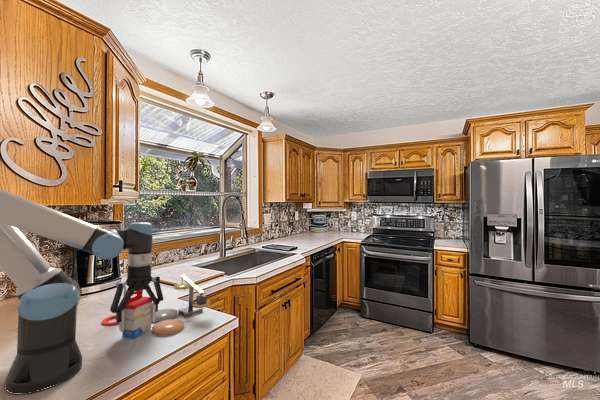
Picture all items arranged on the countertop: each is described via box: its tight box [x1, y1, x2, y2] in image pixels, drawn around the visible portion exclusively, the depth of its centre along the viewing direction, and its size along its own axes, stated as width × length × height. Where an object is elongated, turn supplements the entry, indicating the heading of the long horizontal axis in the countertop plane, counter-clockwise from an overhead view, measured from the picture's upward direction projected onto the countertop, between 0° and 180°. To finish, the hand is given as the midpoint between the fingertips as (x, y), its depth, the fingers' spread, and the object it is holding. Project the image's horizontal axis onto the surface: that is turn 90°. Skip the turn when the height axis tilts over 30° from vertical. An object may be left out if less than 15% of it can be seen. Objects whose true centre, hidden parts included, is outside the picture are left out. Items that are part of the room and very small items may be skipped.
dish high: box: [151, 308, 178, 324], centre depth 110 cm, size 11×11×1 cm
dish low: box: [151, 318, 185, 337], centre depth 100 cm, size 11×11×1 cm
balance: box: [173, 274, 211, 318], centre depth 115 cm, size 8×24×15 cm, turn 50°
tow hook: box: [101, 285, 127, 327], centre depth 106 cm, size 8×13×9 cm
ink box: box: [121, 290, 153, 340], centre depth 96 cm, size 8×5×15 cm, turn 168°
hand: (137, 325), depth 96 cm, fingers closed on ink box, 9 cm apart
